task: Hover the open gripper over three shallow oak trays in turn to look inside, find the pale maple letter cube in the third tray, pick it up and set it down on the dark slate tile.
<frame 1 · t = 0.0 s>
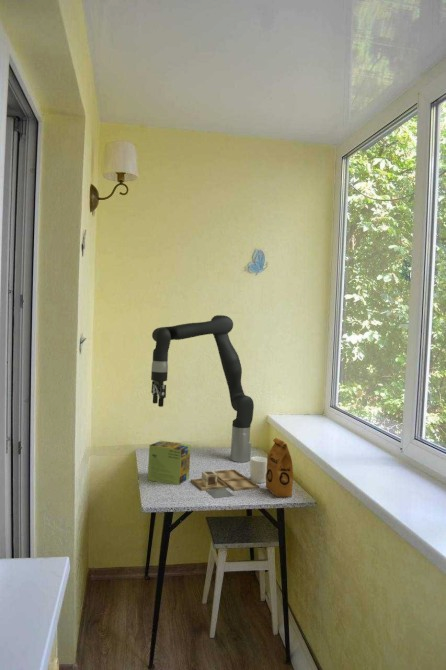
hand: (157, 404, 241), 29 cm above the table, fingers open, 8 cm apart
white cup: (258, 481, 230), on the table
slate tile: (219, 494, 210), on the table
tray 3: (208, 485, 220), on the table
coffee package: (278, 493, 216), on the table
protein box: (168, 480, 225), on the table
tray 2: (240, 486, 222), on the table
tray 1: (228, 477, 233), on the table
letter cube: (209, 484, 220), resting on tray 3
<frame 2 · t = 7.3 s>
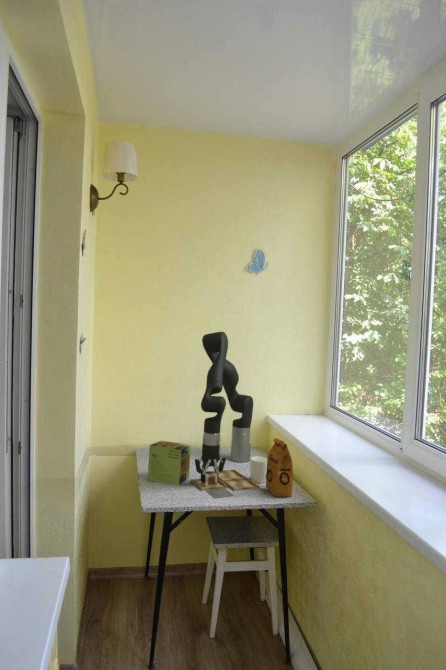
hand: (209, 481, 220), 2 cm above the table, fingers closed on letter cube, 5 cm apart
letter cube: (209, 484, 220), point 1 cm above the table, touching gripper, tray 3
everything else where it was.
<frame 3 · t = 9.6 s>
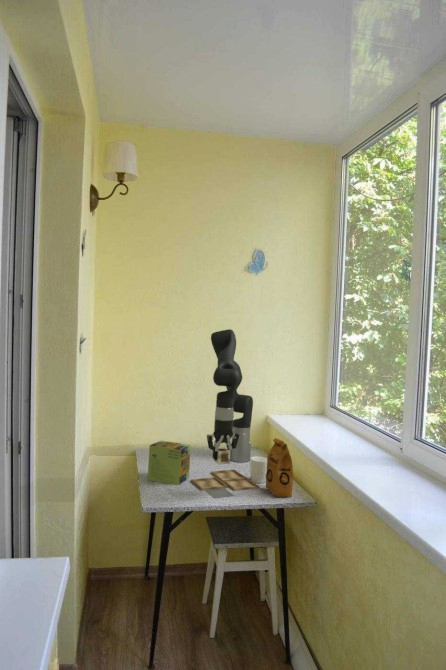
hand: (221, 459, 209), 15 cm above the table, fingers closed on letter cube, 5 cm apart
letter cube: (221, 462, 209), point 13 cm above the table, touching gripper
everything else where it was.
when the fingers open (3 cm above the table, at t = 12.0 s): letter cube drops 1 cm, resting on slate tile.
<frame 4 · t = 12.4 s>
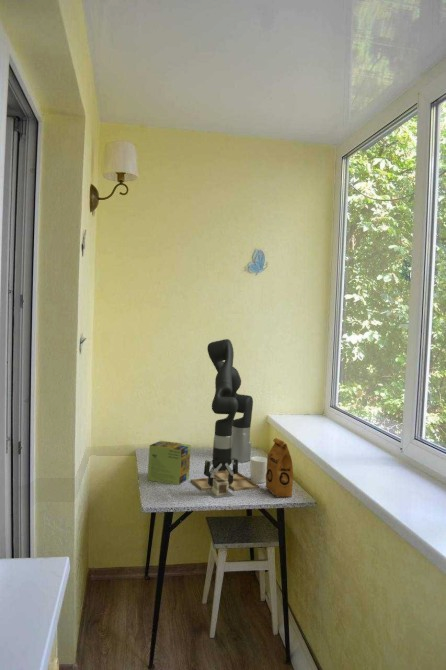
hand: (220, 485, 210), 4 cm above the table, fingers open, 8 cm apart
letter cube: (219, 493, 210), point 1 cm above the table, touching slate tile
everything else where it was.
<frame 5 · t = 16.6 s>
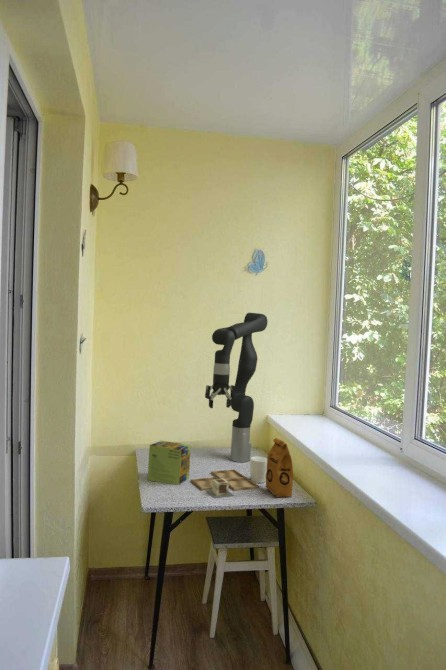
hand: (219, 407, 239), 30 cm above the table, fingers open, 8 cm apart
nothing on the table moved.
at the end: letter cube inside the target area on the slate tile (0.0 cm from its centre), point 0.6 cm above the slate tile's base; letter cube tilted 0°; the gripper is holding nothing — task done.
